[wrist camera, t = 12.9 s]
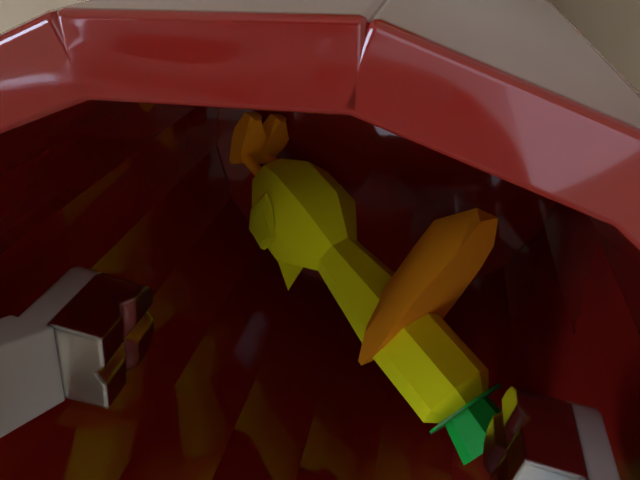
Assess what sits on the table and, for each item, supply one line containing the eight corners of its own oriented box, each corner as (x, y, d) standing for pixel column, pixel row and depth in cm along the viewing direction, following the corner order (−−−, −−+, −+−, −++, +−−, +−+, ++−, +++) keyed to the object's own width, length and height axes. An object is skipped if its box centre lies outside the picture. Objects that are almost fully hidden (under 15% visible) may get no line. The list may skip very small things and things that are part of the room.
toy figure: (244, 32, 15) (584, 362, 9) (334, 47, 17) (648, 316, 12) (185, 212, 19) (401, 528, 13) (265, 204, 21) (477, 467, 15)
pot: (199, 257, 23) (-60, 607, 12) (214, -111, 16) (-476, -165, 4) (505, 339, 22) (558, 823, 10) (679, -19, 14) (1587, 279, 3)
